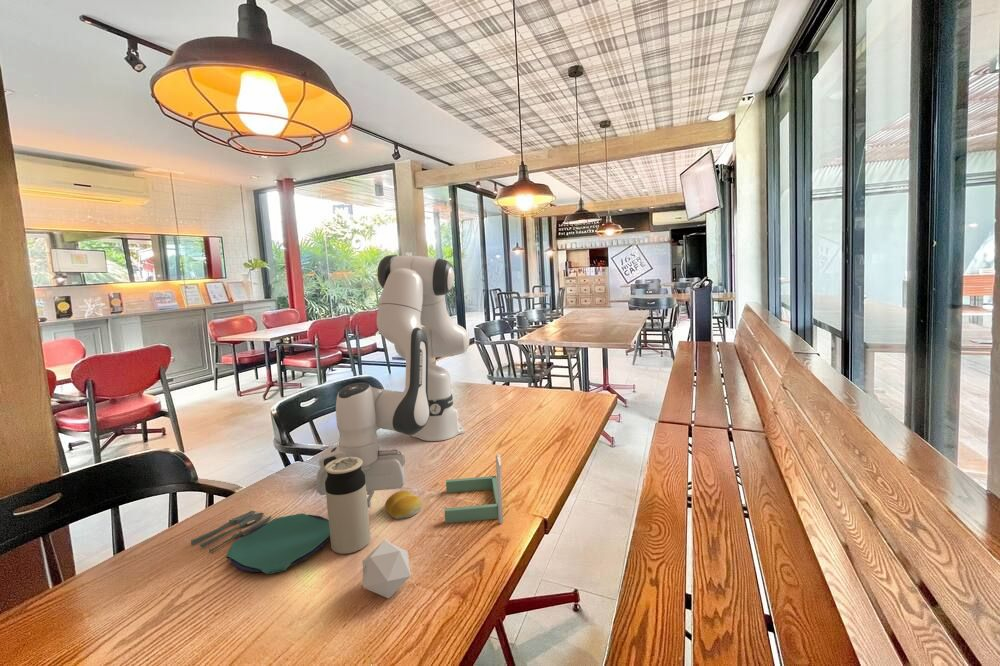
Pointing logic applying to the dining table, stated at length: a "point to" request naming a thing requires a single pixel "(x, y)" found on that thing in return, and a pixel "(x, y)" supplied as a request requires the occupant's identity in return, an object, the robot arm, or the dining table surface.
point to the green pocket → (480, 510)
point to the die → (386, 569)
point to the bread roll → (403, 504)
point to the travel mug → (347, 505)
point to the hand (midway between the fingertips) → (364, 506)
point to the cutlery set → (272, 541)
